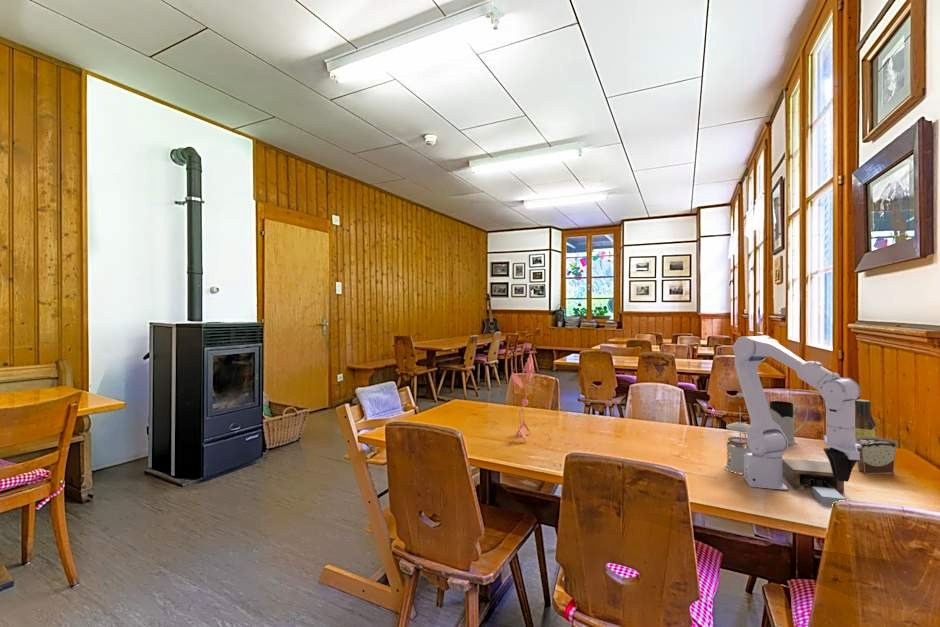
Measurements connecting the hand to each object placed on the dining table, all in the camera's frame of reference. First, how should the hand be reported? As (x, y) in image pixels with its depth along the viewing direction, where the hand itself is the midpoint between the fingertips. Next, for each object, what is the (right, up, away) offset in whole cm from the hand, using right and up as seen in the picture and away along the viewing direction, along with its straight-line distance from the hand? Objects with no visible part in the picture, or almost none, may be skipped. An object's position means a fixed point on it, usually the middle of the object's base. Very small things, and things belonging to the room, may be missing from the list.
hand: (841, 479), depth 114 cm
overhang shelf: (+6, -8, +18) cm, 21 cm away
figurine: (-69, -9, +70) cm, 99 cm away
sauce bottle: (+41, -8, +39) cm, 57 cm away
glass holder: (+30, -8, +60) cm, 68 cm away
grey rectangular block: (+3, -9, +7) cm, 12 cm away
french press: (-6, -9, +31) cm, 33 cm away
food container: (+33, -8, +28) cm, 44 cm away
